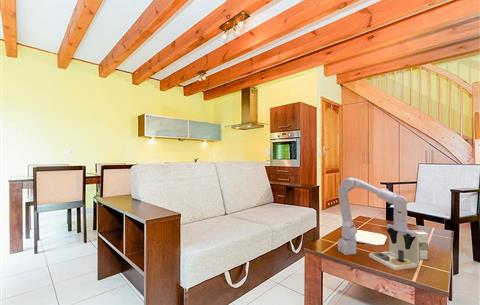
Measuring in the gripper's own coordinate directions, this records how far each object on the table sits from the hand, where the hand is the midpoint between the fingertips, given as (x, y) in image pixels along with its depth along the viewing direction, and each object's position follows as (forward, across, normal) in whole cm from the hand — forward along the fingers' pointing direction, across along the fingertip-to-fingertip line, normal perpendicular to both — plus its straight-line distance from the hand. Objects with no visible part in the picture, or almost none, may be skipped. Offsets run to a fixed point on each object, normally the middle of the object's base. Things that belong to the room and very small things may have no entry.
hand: (400, 246), depth 117 cm
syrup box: (+10, +6, -20) cm, 23 cm away
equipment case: (+10, +4, +2) cm, 11 cm away
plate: (+11, +38, -12) cm, 42 cm away
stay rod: (+9, 0, 0) cm, 9 cm away
